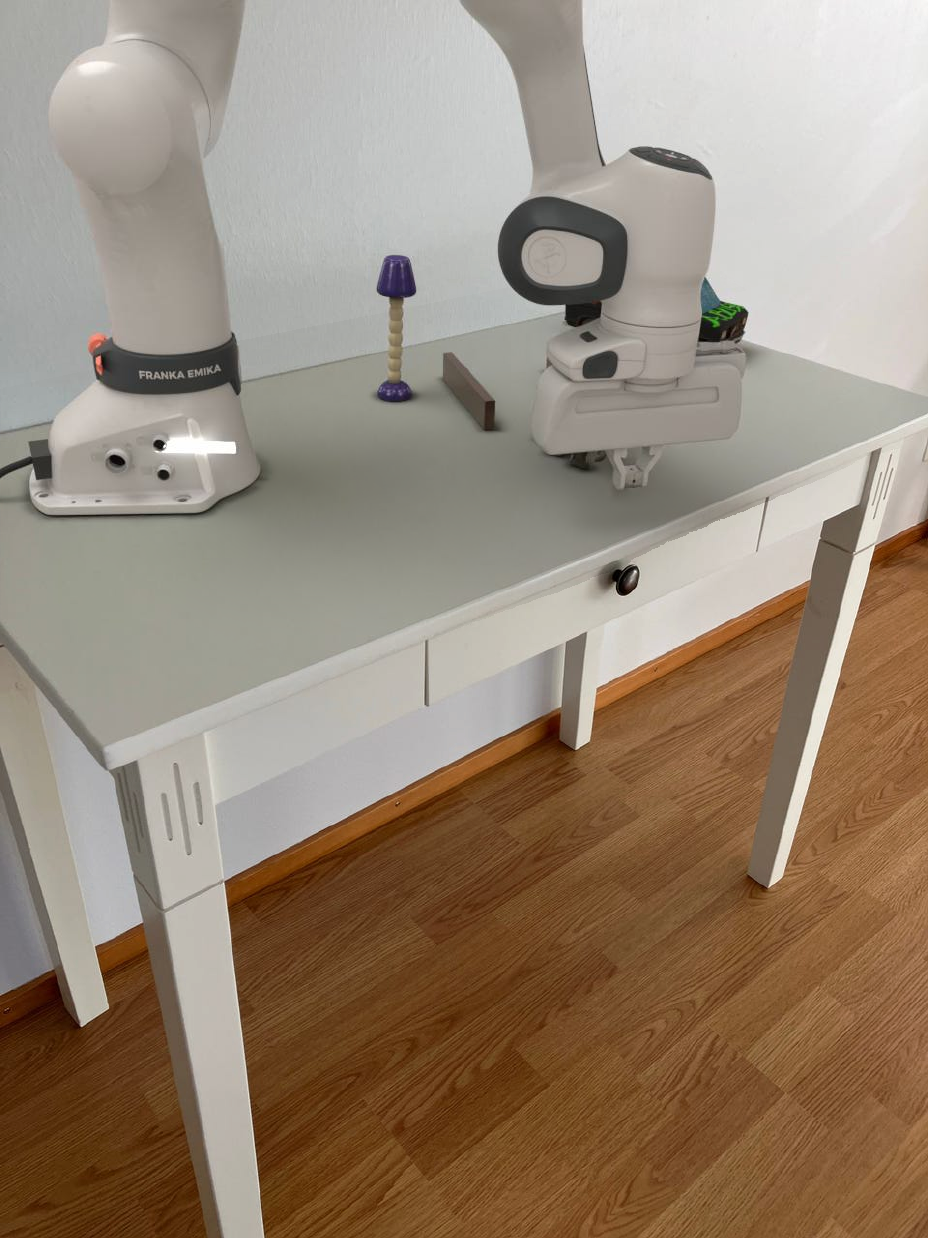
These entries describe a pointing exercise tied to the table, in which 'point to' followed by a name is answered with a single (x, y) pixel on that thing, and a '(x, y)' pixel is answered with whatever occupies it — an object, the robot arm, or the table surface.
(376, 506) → the table surface
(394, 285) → the toy lamp
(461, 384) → the walnut rails
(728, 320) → the toy van
